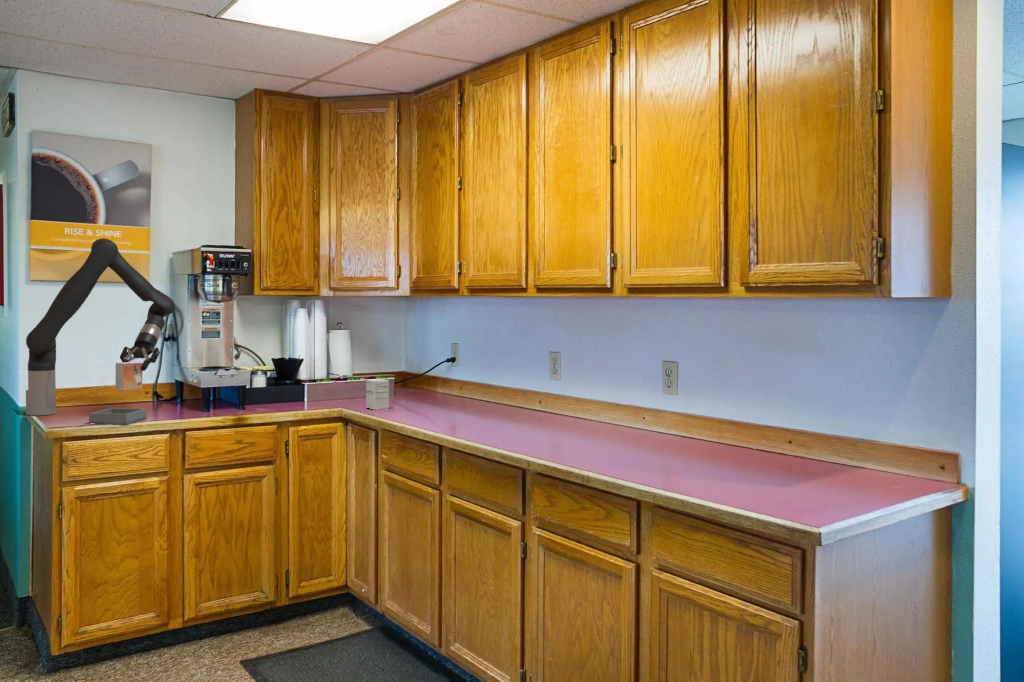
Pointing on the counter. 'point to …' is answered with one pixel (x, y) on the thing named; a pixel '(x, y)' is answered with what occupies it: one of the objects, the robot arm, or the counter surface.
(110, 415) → the grey tray
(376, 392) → the supplement box
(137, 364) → the small box
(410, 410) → the counter surface
